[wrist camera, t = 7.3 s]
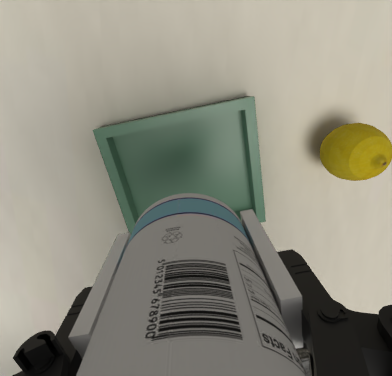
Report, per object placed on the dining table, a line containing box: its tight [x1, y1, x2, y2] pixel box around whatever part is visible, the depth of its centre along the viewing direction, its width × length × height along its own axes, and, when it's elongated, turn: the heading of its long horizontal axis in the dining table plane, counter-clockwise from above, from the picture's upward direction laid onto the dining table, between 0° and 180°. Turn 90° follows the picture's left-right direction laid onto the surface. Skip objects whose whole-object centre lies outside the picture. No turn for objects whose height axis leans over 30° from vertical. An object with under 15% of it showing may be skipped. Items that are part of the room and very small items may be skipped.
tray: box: [93, 96, 266, 234], centre depth 26 cm, size 16×14×2 cm
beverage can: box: [76, 193, 307, 376], centre depth 10 cm, size 7×7×12 cm
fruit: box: [320, 123, 392, 181], centre depth 23 cm, size 6×6×8 cm
